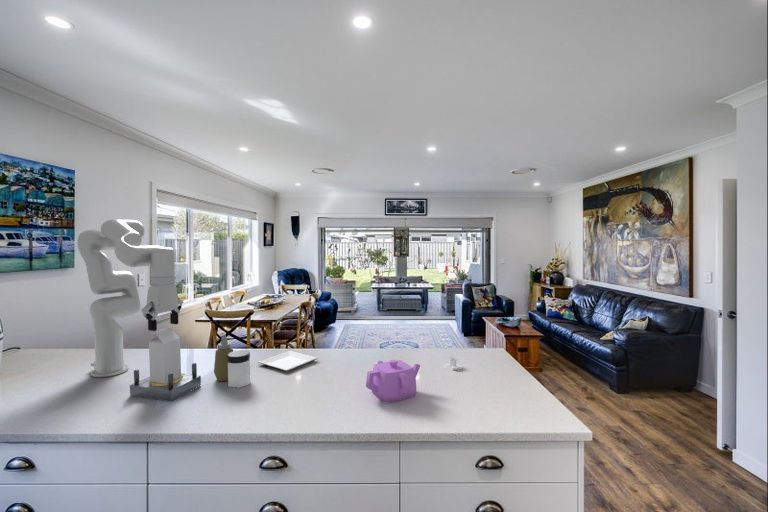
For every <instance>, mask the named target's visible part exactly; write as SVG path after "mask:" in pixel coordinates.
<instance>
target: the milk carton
mask: <svg viewBox="0 0 768 512" xmlns="http://www.w3.org/2000/svg"><path fill="white" fill-rule="evenodd" d="M148 352H149V354H148V355H149V357H148V358H149V361H148V362H149V377H150V382H156V383H162V384H166V383H168V374H173V380H175V379H178V378H180V377H181V373H182V361H181V360H182V358H181V357H182V356H181V337H180V336H179V335H178V334H177V333H176V331H175V330H174V327H173V326H171V327H167V328H163V329H160V330H156V331H155V335H153V337H152V338H150V339H149V341H148Z"/></svg>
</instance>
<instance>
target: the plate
mask: <svg viewBox="0 0 768 512" xmlns="http://www.w3.org/2000/svg"><path fill="white" fill-rule="evenodd" d="M317 359H318V357H316V356H312V355H308V354H304V353H301V352H296V351H294V350H288V351H284V352H282V353H279V354H276V355H273V356H271V357H268V358H267V357H266V358H264V359H261V360H259V361H258V364H262V365H265V366H268V367H271V368H275V369H276V370H282V371H285V372H289V371H291V370H294V369H296V368H299V367H301V366H303V365H306V364H308V363H311V362H313V361H315V360H317Z"/></svg>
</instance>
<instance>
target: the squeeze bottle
mask: <svg viewBox="0 0 768 512" xmlns="http://www.w3.org/2000/svg"><path fill="white" fill-rule="evenodd" d="M233 351H234V349H233V348H232V347H231V342H228V339H227V336H226V334H222V335H221V340H220V343H218V344H217V349H215V356H214V365H213V366H214V367H213V373H214V376H215V378H216V380H217V381H219V382H226V381H227V382H228V360H227V355H228V353H230V352H233Z"/></svg>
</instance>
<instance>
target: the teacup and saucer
mask: <svg viewBox="0 0 768 512" xmlns="http://www.w3.org/2000/svg"><path fill="white" fill-rule="evenodd" d="M448 362H449V363H445V364H444V365H443V367H444V368H445V369H447V370H450V371H451V370H452V371H459V370H462V369H463V366H462V365H461V364H459V363H457V358H456V357H449V361H448ZM448 366H450V368H449V367H448Z"/></svg>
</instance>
